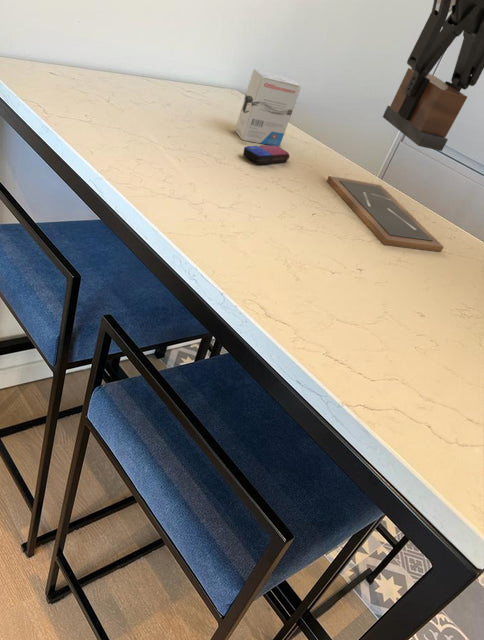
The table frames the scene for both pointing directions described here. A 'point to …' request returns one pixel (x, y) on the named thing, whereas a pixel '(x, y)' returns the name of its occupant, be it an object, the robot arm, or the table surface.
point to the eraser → (266, 154)
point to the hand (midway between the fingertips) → (417, 120)
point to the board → (384, 215)
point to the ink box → (267, 108)
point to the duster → (427, 112)
